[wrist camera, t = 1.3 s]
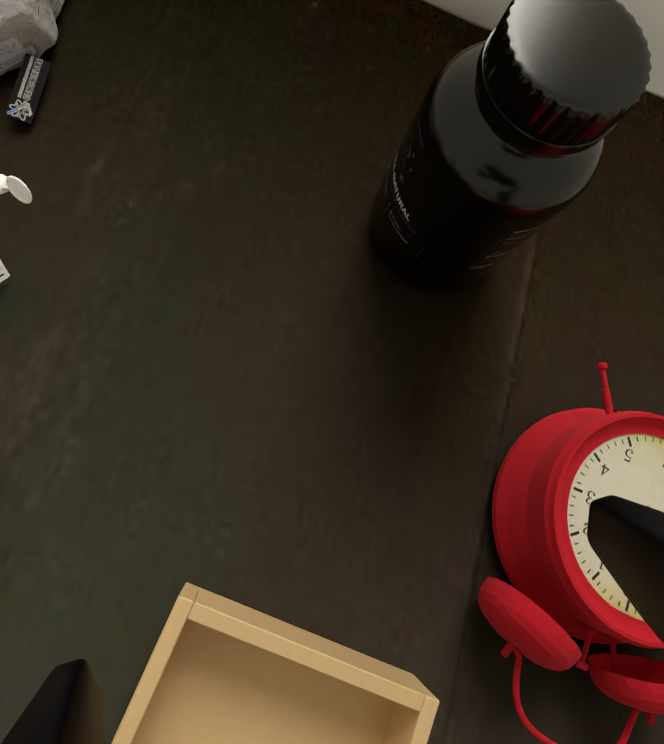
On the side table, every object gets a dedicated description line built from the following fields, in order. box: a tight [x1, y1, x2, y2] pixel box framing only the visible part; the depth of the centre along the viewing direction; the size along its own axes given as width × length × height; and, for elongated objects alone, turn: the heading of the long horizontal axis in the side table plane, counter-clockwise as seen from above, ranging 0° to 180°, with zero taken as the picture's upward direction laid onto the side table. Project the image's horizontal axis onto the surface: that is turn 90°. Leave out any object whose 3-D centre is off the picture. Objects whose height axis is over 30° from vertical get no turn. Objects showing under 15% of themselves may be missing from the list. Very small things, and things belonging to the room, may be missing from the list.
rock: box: [0, 0, 64, 124], centre depth 24 cm, size 10×3×5 cm
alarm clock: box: [478, 362, 664, 744], centre depth 22 cm, size 10×6×15 cm
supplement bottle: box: [371, 0, 651, 291], centre depth 21 cm, size 7×7×12 cm
